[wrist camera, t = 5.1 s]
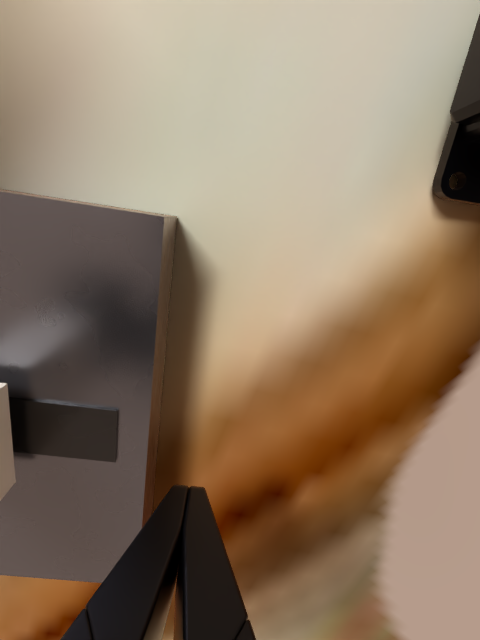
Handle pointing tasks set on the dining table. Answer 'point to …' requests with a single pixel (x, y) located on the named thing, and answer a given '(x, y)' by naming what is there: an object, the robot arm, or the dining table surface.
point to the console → (80, 379)
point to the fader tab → (5, 444)
